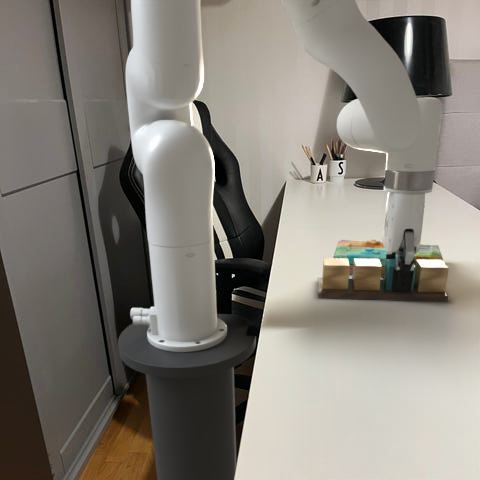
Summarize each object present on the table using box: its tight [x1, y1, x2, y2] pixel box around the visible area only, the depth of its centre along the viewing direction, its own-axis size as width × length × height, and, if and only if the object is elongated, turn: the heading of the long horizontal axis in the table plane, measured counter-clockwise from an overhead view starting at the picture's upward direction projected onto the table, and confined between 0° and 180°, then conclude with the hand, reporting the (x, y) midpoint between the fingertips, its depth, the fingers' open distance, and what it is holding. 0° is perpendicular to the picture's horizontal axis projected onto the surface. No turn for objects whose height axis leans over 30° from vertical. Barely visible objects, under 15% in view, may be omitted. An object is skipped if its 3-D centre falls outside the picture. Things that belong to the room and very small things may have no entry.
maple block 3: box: [414, 259, 449, 292], centre depth 86 cm, size 4×4×4 cm
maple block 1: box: [321, 257, 350, 290], centre depth 89 cm, size 4×4×4 cm
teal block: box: [383, 259, 416, 291], centre depth 87 cm, size 4×4×4 cm
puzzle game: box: [332, 239, 445, 277], centre depth 99 cm, size 12×5×20 cm
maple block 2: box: [351, 259, 382, 291], centre depth 88 cm, size 4×4×4 cm
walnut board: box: [317, 277, 449, 303], centre depth 89 cm, size 22×8×1 cm, turn 82°
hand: (396, 283), depth 88 cm, fingers open, 8 cm apart
